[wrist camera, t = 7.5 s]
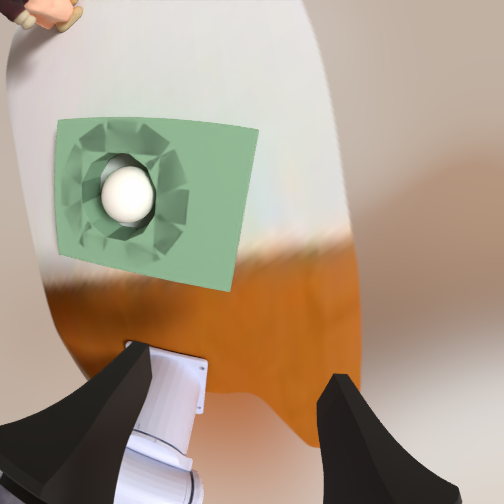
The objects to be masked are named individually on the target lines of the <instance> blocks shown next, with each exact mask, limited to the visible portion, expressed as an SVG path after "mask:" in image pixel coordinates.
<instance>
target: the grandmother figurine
mask: <svg viewBox="0 0 504 504" xmlns="http://www.w3.org/2000/svg"><path fill="white" fill-rule="evenodd" d="M77 1H78V0H0V12H1V13H2V14H3V15H4V16H6V17H7V18H8V19H9V20H10V21H12V22H15V23H16V24H18V25H22V28H23V29H25V30H28V29H30V28H32V27H33V26H34V24H37V25H39V26H41V27H43V28H45V29H48V30H50V29H51V28H52V27H53V25H54V24H55V23H56V27H57V29H58V31H60V32H64V31H66V30H67V29H69V28H70V27H71V26H72V25H73V24H74V23H75V22H76V21H77V20H78V19H79V18H80V16H81V15H82V13H83V8H82V7H81V6H77V7H74V8H73V6H74V5H75V4H76V3H77Z"/></svg>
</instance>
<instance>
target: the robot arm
mask: <svg viewBox="0 0 504 504" xmlns="http://www.w3.org/2000/svg"><path fill="white" fill-rule="evenodd" d="M207 369H208V362H207V360H205V359H202V358H197V357H192V356H187V355H183V354H178V353H174V352H170V351H165V350H161V349H157V348H153V347H150V346H149V344H146V343H142V342H138V341H133V342H131V341H128V342H127V343H126V349H125V350H123V351H122V352H121V353H120V354H119V355H118V356H117V357H116V358H115V359H114V360H113V361H112V362H111V363H109V364H108V365H107V366H106V367H105V368H104V369H102V370H101V371H100V372H99V373H98V374H97V375H95V376H94V377H93V378H92V379H90V380H89V381H88V382H87V383H85V384H84V385H83V386H81V387H80V388H79V389H77V390H76V391H74V392H73V393H72V394H70V395H68V396H67V397H65V398H64V399H62V400H61V401H59V402H57V403H55V404H53V405H52V406H50V407H48V408H46V409H44V410H42V411H40V412H38V413H36V414H33V415H31V416H28V417H26V418H23V419H21V420H18V421H15V422H12V423H8V424H4V425H1V426H0V470H1V471H2V472H3V473H2V472H1V471H0V504H202V502H203V494H204V491H203V490H204V489H203V483H202V481H201V479H200V476H199V474H198V473H197V471H195V470H193V469H191V467H192V461H193V460H192V459H190V458H188V457H186V454H187V450H188V445H189V440H190V436H191V431H192V426H193V422H194V417H195V413H196V414H202V413H203V408H204V398H205V388H206V378H207ZM317 428H318V435H319V442H320V449H321V456H322V463H323V472H324V498H323V504H462V499H461V495H460V492H459V488H458V487H457V486H455V485H453V484H451V483H450V482H447V481H446V480H444V479H442V478H440V477H439V476H437V475H436V474H434V473H433V472H431V471H430V470H428V469H427V468H426V467H424V466H423V465H422V464H421V463H419V462H418V461H417V460H416V459H415V458H413V457H412V456H411V455H410V454H409V453H408V452H407V451H406V450H405V449H404V448H403V447H402V446H401V445H400V444H399V443H398V442H397V441H396V440H395V439H394V438H393V437H392V435H391V434H390V433H389V432H388V431H387V429H386V428H385V427H384V426H383V424H382V423H381V422H380V421H379V419H378V418H377V417H376V415H375V414H374V412H373V411H372V410H371V408H370V407H369V405H368V404H367V403H366V401H365V400H364V398H363V397H362V395H361V394H360V392H359V391H358V389H357V388H356V386H355V385H354V383H353V382H352V380H351V379H350V377H349V376H348V374H333V376H332V377H331V379H330V381H329V383H328V384H327V386H326V388H325V389H324V391H323V393H322V394H321V396H320V398H319V399H318V401H317Z"/></svg>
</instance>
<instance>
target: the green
mask: <svg viewBox="0 0 504 504" xmlns="http://www.w3.org/2000/svg"><path fill="white" fill-rule="evenodd" d="M258 133H259V130H258V129H252V128H246V127H240V126H233V125H226V124H218V123H209V122H200V121H190V120H178V119H163V118H140V117H98V118H76V119H62V120H58V125H57V135H56V149H55V215H56V229H57V239H58V248H59V254H60V255H64V256H67V257H71V258H75V259H79V260H83V261H87V262H91V263H95V264H99V265H103V266H107V267H112V268H116V269H120V270H125V271H129V272H133V273H138V274H142V275H147V276H152V277H156V278H161V279H166V280H170V281H175V282H180V283H185V284H190V285H195V286H200V287H206V288H211V289H216V290H222V291H227V292H230V288H231V284H232V279H233V274H234V268H235V262H236V256H237V250H238V244H239V239H240V233H241V227H242V221H243V216H244V210H245V204H246V199H247V193H248V187H249V182H250V176H251V171H252V165H253V160H254V154H255V149H256V144H257V138H258ZM119 153H127V154H130V155H131V156H133V157H134V158H135V159H136V160H138V161H139V162H140V163H141V164H143V165H144V166H145V167H147V169H148V172H149V174H150V176H151V179H152V181H153V184H154V186H155V188H156V191H157V192H156V205H155V216H154V217H153V219H152V220H151V222H150V223H149V225H148V226H145V227H143V228H141V229H137V228H132V227H126V226H122V225H120V224H119V223H118V222H117V221H116V220H114V219H113V218H112V217H110V216H109V215H108V214H107V212H106V211H105V209H104V207H103V204H102V200H101V198H100V176H101V174H102V172H103V170H104V168H105V167H106V165H107V163H108V161H109V159H111V158H112V157H114V156H116V155H117V154H119Z"/></svg>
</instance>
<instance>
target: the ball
mask: <svg viewBox="0 0 504 504" xmlns="http://www.w3.org/2000/svg"><path fill="white" fill-rule="evenodd" d="M101 198H102V204H103V207H104V209H105V211H106V212H107V214H108V215H109V216H110V217H112V218H113V219H114V220H116V221H119V222H122V223H132V222H136V221H139V220H141V219H142V218H144V217H145V216H146V215H147V214H148V213H149V212H150V210H151V209H152V207H153V205H154V202H155V198H156V188H155V186H154V184H153V181H152V179H151V177H150V175H149V174H148V173H147V172H145V171H144V170H142V169H140V168H138V167H133V166H127V167H122V168H119V169H117V170H116V171H114V172H113V173H111V174H110V175H109V177H108V178H107V179H106V181H105V183H104V185H103V188H102V194H101Z"/></svg>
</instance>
